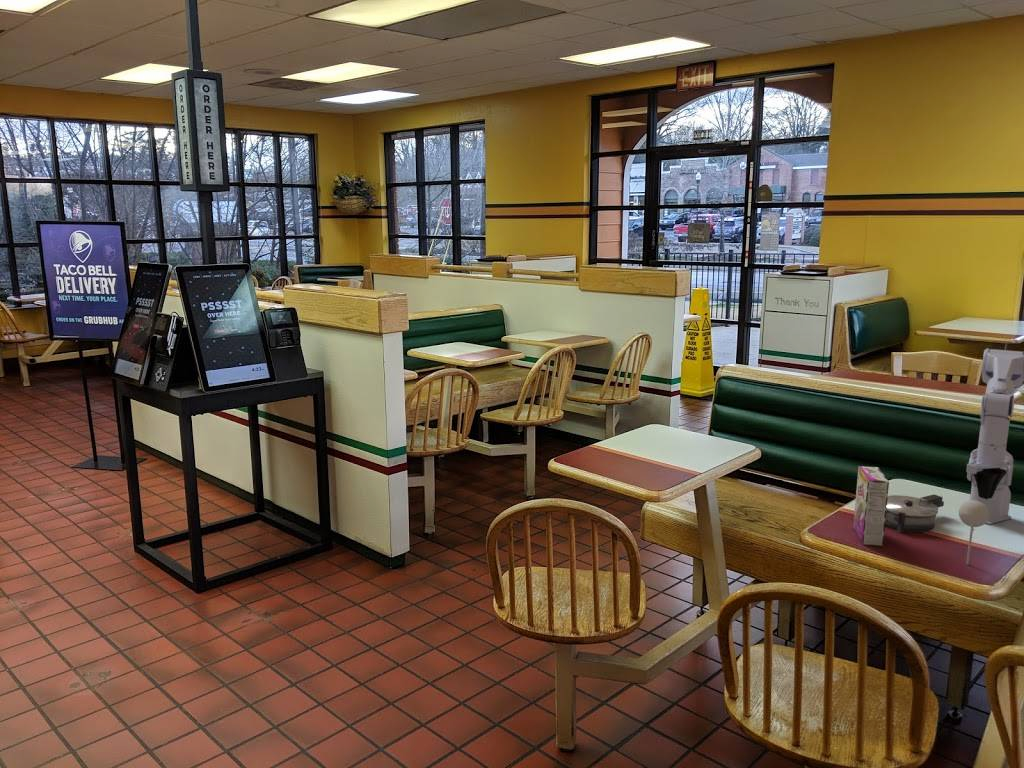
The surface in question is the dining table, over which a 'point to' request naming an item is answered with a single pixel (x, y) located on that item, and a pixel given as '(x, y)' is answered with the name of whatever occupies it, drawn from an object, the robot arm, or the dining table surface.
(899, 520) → the pot
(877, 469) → the candy bar box
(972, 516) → the lollipop
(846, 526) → the dining table surface
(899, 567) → the dining table surface
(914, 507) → the lid
